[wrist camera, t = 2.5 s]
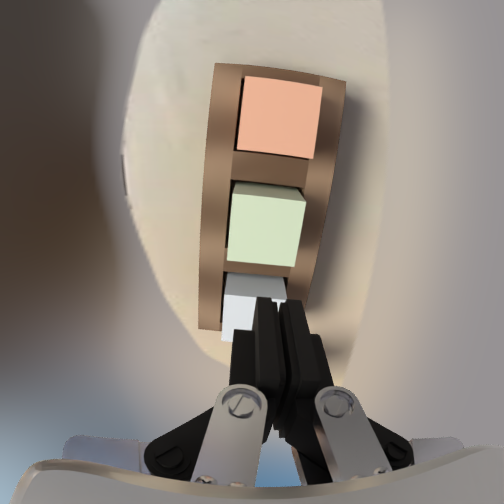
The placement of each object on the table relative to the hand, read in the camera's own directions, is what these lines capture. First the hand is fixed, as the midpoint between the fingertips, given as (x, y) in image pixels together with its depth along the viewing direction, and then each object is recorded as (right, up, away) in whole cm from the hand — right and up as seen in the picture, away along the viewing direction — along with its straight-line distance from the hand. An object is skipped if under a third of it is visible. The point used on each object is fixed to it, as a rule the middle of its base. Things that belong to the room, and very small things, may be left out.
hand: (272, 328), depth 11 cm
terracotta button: (+1, +13, +10) cm, 17 cm away
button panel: (0, +7, +16) cm, 17 cm away
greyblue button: (-1, -1, +17) cm, 17 cm away
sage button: (0, +6, +13) cm, 15 cm away
